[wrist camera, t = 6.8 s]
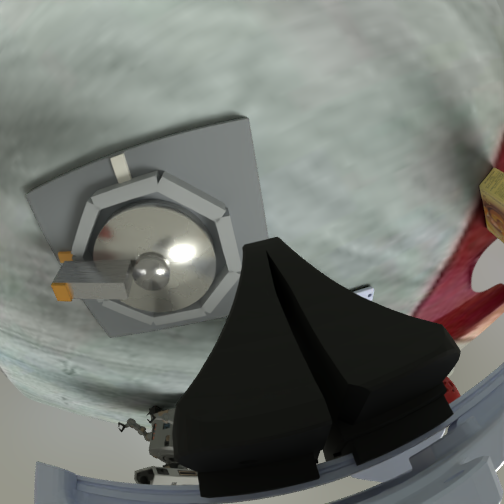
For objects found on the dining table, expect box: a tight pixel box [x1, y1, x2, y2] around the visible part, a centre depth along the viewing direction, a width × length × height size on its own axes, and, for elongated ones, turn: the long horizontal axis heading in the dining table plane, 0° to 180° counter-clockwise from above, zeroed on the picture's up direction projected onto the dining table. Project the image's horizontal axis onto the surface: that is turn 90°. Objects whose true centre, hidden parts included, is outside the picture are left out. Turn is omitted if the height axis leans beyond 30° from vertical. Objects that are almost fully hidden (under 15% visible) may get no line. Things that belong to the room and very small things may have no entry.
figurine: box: [118, 406, 199, 485], centre depth 28 cm, size 9×12×15 cm
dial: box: [51, 200, 216, 312], centre depth 18 cm, size 12×9×4 cm
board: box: [26, 117, 269, 338], centre depth 19 cm, size 16×17×2 cm
